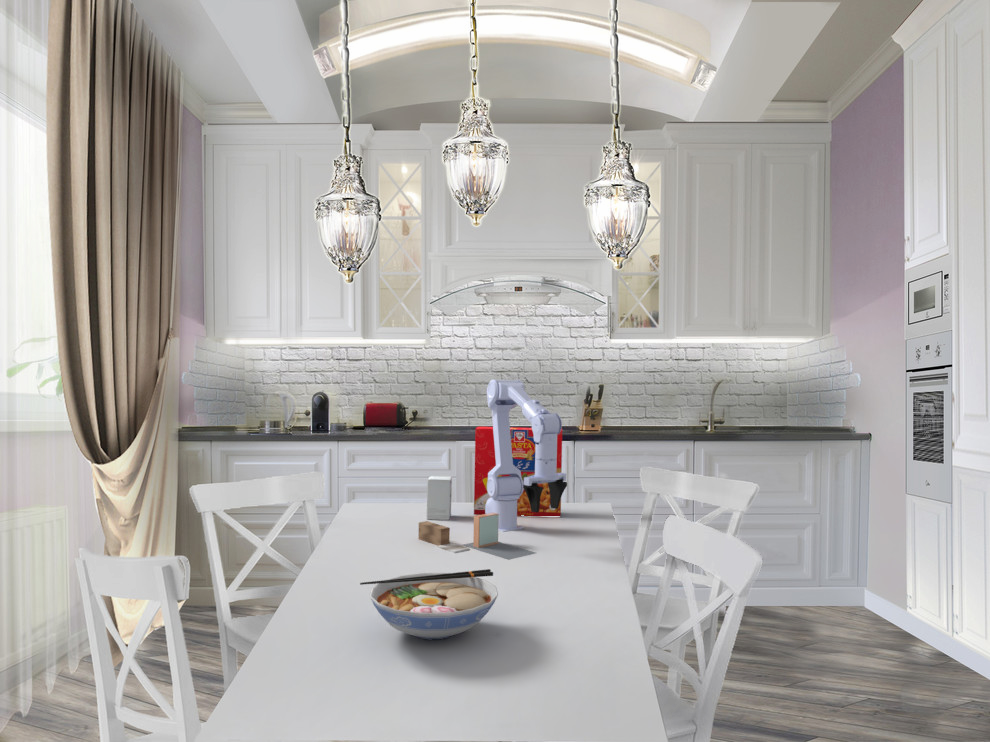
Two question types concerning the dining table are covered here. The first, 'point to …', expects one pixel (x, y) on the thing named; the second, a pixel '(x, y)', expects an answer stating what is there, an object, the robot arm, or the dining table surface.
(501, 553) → the mat
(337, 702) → the dining table surface
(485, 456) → the pasta box
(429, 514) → the supplement box
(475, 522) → the tile
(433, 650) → the dining table surface
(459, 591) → the ramen bowl
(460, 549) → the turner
